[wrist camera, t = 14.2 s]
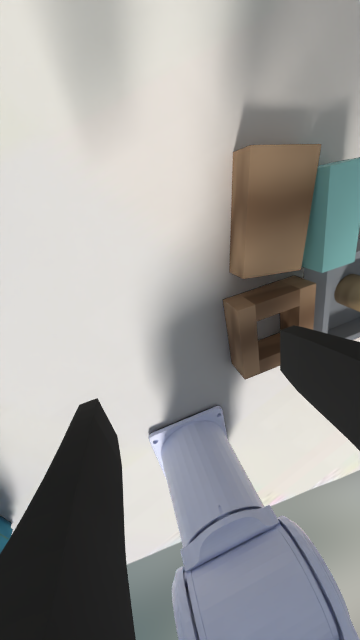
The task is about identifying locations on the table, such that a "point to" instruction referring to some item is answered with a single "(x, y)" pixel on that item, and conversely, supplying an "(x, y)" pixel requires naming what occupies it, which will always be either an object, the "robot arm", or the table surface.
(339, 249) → the teal rectangular block
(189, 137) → the table surface
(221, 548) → the robot arm
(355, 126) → the table surface
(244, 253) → the tan wooden slab
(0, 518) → the teal coffee bag
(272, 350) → the socket
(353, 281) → the dowel
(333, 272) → the tray
